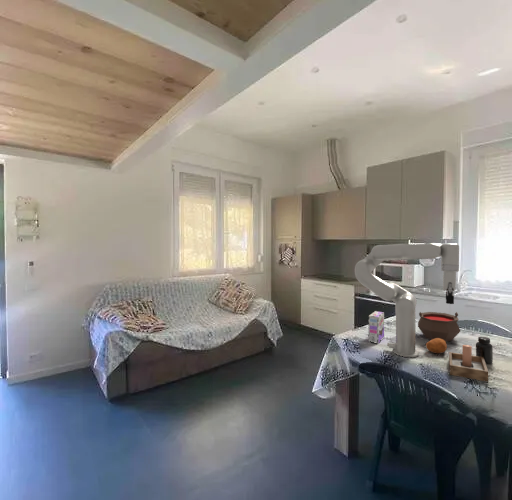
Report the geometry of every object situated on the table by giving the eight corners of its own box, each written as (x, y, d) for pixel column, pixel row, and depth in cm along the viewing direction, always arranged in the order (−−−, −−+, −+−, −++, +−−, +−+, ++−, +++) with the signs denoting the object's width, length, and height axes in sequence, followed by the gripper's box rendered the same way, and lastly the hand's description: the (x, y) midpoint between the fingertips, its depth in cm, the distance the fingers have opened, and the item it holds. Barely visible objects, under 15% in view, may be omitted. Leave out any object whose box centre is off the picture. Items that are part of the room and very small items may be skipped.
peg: (462, 369, 144) (462, 346, 143) (462, 366, 147) (462, 344, 147) (471, 371, 142) (472, 348, 142) (471, 368, 145) (471, 345, 145)
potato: (452, 354, 162) (452, 340, 162) (435, 357, 159) (435, 343, 159) (437, 348, 171) (437, 335, 171) (421, 350, 168) (421, 337, 167)
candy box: (378, 344, 179) (378, 316, 178) (368, 342, 182) (368, 315, 181) (384, 337, 190) (384, 311, 189) (374, 336, 193) (374, 310, 192)
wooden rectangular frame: (450, 374, 139) (450, 365, 139) (449, 360, 154) (449, 351, 154) (488, 381, 132) (488, 371, 131) (483, 366, 147) (483, 357, 147)
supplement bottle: (485, 358, 156) (485, 335, 155) (496, 364, 149) (496, 340, 148) (472, 358, 156) (472, 336, 155) (482, 364, 149) (483, 340, 148)
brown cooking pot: (448, 332, 198) (448, 307, 197) (470, 345, 174) (470, 317, 174) (409, 331, 201) (410, 307, 200) (426, 344, 177) (426, 317, 176)
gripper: (441, 266, 161) (440, 297, 162) (441, 269, 147) (440, 304, 147) (458, 266, 157) (457, 299, 158) (459, 270, 143) (459, 306, 143)
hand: (449, 301), depth 153 cm, fingers open, 9 cm apart
